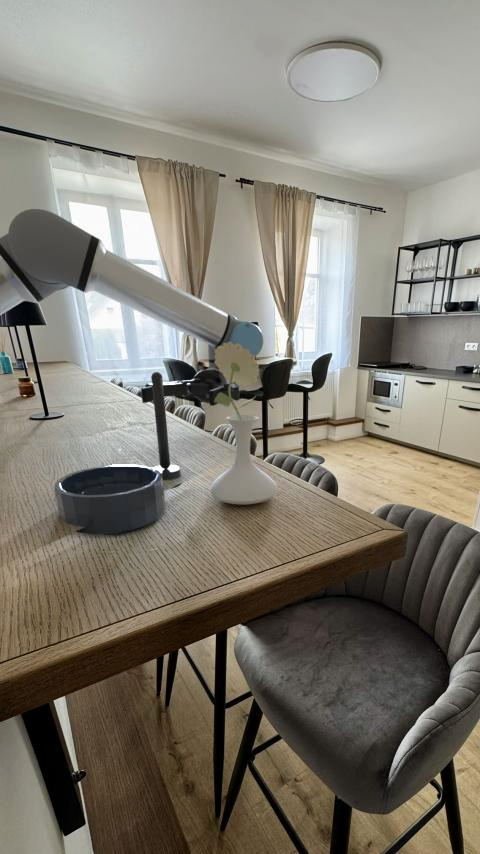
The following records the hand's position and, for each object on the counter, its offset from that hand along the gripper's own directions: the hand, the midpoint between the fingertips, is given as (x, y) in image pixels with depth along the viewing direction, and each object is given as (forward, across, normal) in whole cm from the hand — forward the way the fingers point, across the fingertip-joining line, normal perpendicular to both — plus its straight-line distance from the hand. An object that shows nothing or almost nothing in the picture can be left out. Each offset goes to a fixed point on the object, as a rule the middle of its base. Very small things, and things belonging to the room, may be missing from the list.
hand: (176, 396), depth 78 cm
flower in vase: (+11, -15, -15) cm, 24 cm away
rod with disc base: (+8, 0, -15) cm, 17 cm away
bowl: (+23, +1, -15) cm, 28 cm away
